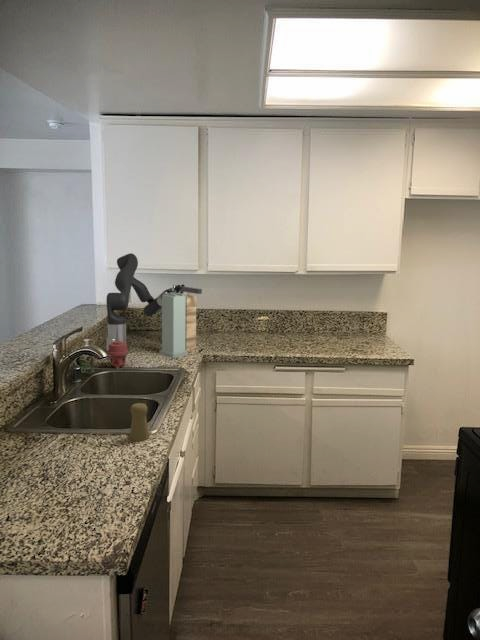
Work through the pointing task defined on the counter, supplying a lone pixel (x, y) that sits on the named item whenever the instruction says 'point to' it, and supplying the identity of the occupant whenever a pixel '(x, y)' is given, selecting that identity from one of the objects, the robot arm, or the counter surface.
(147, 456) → the counter surface
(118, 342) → the mechanical component
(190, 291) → the lever bar
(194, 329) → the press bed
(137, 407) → the cork
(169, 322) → the frame
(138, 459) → the counter surface
